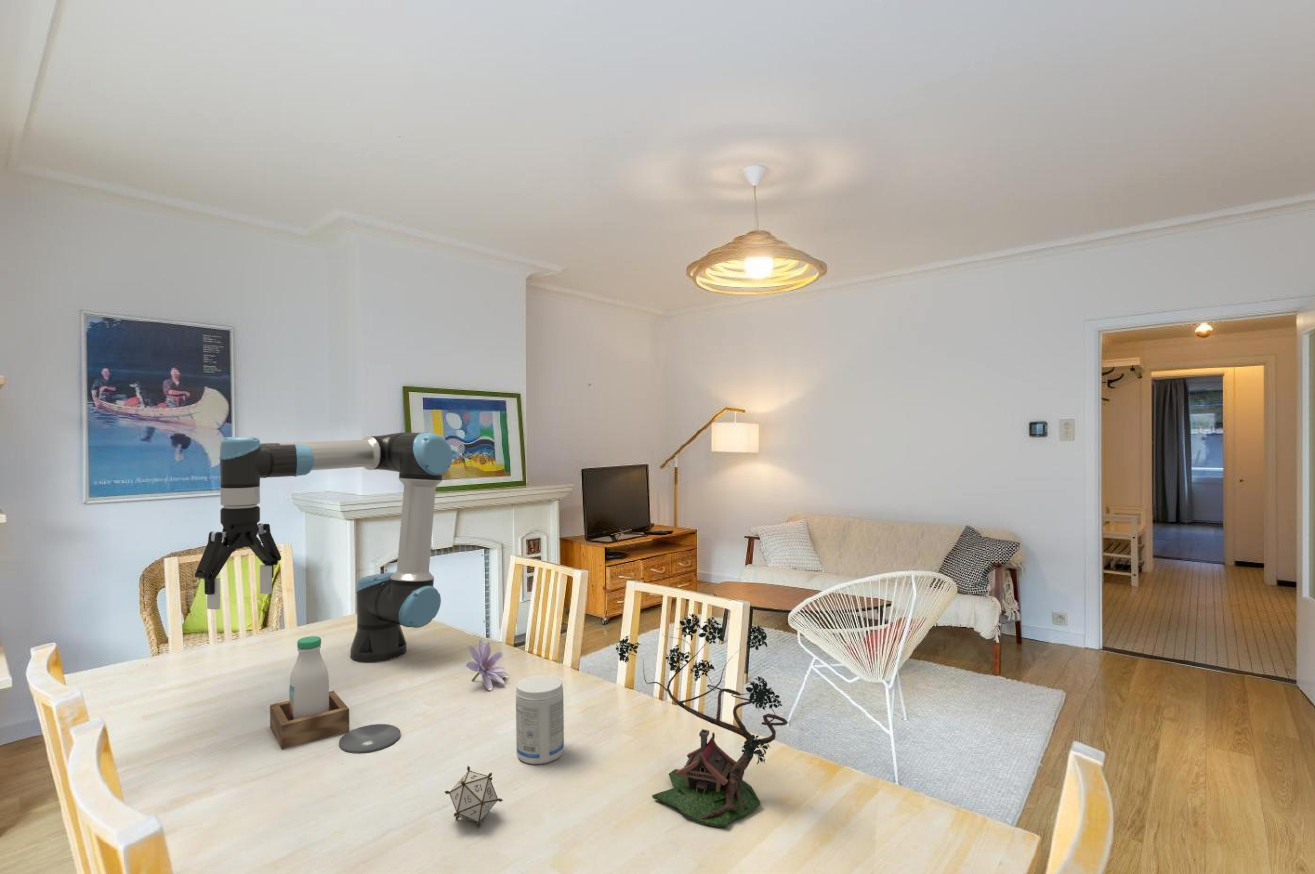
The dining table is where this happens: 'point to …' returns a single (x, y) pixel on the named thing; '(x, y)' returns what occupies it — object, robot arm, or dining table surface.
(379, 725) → the slate coaster
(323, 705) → the milk bottle
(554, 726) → the supplement tub
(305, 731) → the walnut pocket
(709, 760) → the bonsai tree
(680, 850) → the dining table surface
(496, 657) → the water lily
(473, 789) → the game die
